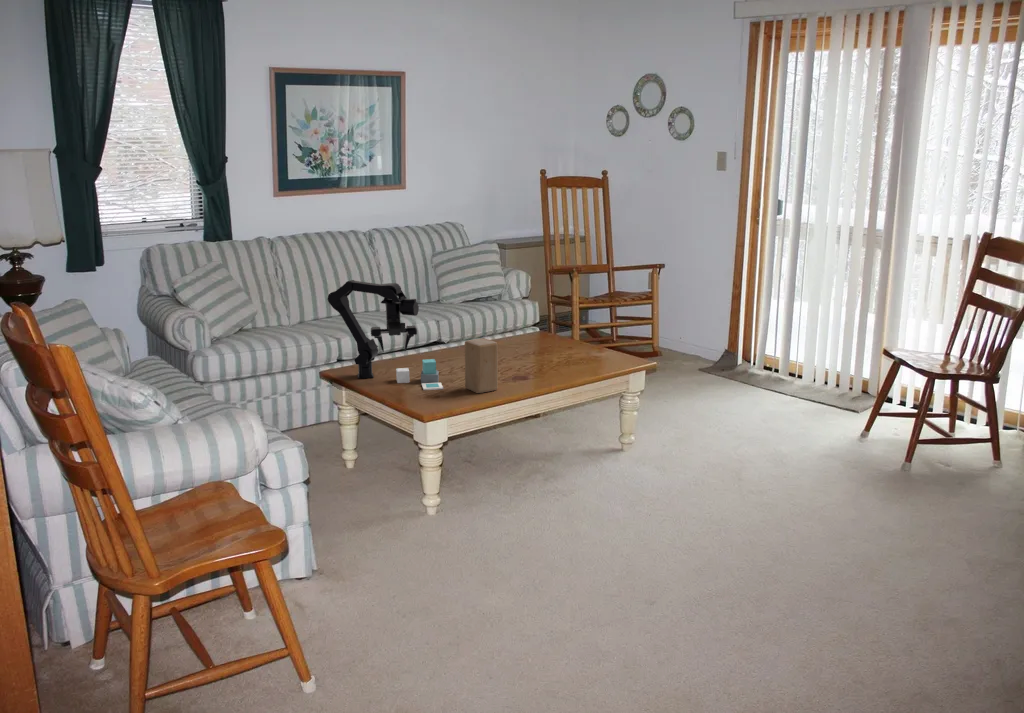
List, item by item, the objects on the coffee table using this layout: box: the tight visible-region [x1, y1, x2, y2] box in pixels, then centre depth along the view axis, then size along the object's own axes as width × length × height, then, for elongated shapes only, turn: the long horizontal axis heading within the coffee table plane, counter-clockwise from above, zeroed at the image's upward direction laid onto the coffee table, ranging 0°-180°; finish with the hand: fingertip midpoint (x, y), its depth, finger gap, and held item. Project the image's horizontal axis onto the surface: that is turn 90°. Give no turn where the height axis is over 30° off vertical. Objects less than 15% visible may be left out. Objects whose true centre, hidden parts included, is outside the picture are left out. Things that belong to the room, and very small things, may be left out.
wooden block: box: [464, 337, 499, 394], centre depth 360 cm, size 10×10×20 cm
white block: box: [395, 367, 411, 384], centre depth 373 cm, size 5×5×5 cm
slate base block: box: [420, 369, 440, 385], centre depth 374 cm, size 7×7×4 cm
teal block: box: [421, 358, 437, 374], centre depth 373 cm, size 5×5×5 cm
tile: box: [421, 382, 444, 391], centre depth 366 cm, size 8×8×1 cm
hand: (394, 351), depth 374 cm, fingers open, 9 cm apart
